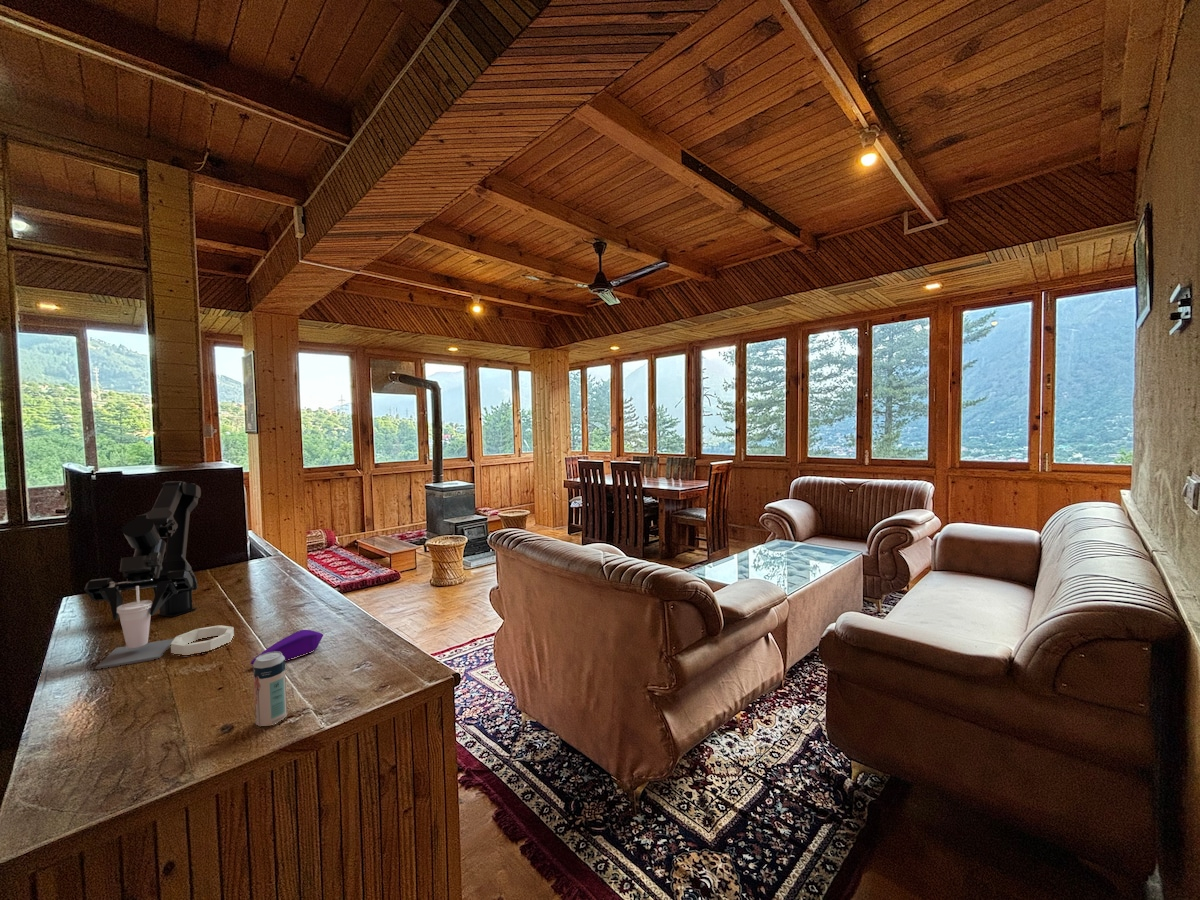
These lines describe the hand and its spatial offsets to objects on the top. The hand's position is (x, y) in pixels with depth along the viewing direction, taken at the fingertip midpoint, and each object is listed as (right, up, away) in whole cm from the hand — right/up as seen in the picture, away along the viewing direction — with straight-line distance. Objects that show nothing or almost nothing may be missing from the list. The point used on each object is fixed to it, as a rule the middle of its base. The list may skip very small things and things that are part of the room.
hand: (133, 617), depth 115 cm
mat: (0, -9, +1) cm, 9 cm away
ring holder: (+11, -9, +6) cm, 16 cm away
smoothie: (-1, -7, +2) cm, 7 cm away
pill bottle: (+50, -10, -26) cm, 57 cm away
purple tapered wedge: (+37, -9, -1) cm, 38 cm away
